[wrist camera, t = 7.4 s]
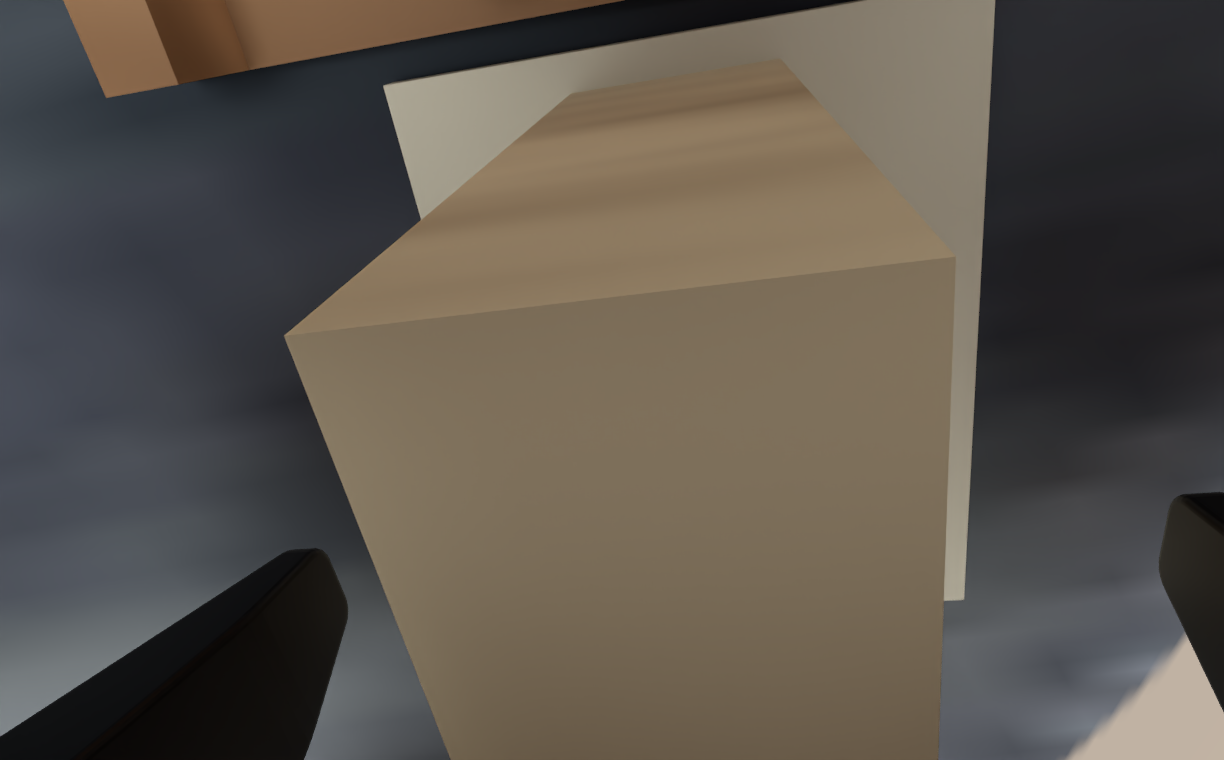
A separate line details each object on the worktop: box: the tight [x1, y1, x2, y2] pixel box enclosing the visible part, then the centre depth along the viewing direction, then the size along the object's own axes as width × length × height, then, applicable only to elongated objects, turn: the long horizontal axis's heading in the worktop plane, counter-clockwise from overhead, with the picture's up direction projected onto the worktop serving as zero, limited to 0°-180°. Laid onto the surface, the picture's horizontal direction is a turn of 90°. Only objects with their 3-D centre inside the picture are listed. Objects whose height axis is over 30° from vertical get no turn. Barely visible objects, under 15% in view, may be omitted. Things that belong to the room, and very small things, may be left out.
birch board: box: [284, 59, 956, 760], centre depth 9 cm, size 9×3×8 cm, turn 10°
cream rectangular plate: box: [383, 0, 995, 601], centre depth 12 cm, size 10×8×1 cm
